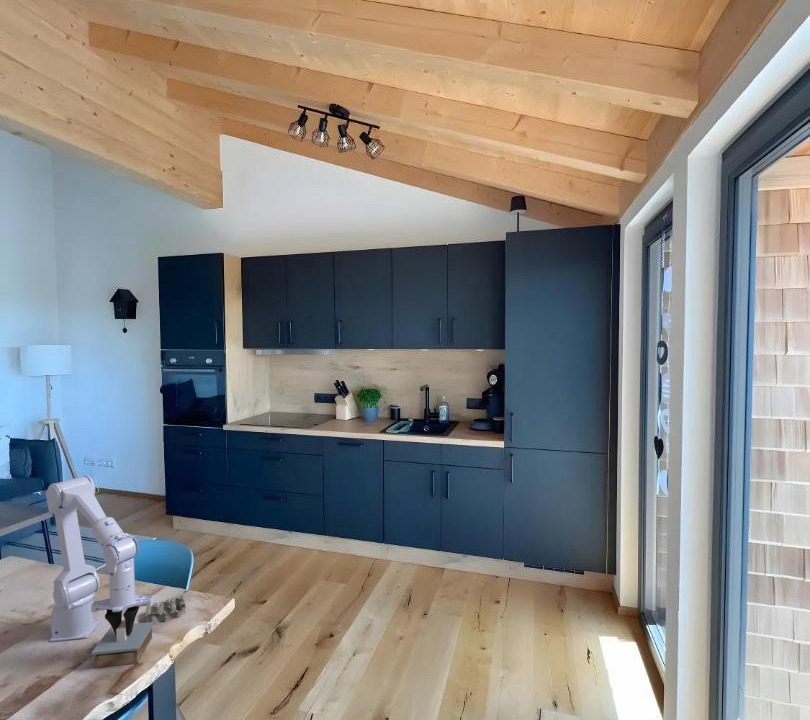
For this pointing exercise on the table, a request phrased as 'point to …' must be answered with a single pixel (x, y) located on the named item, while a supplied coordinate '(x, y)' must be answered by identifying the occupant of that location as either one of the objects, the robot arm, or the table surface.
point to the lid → (123, 639)
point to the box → (122, 655)
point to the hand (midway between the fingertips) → (124, 634)
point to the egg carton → (155, 610)
